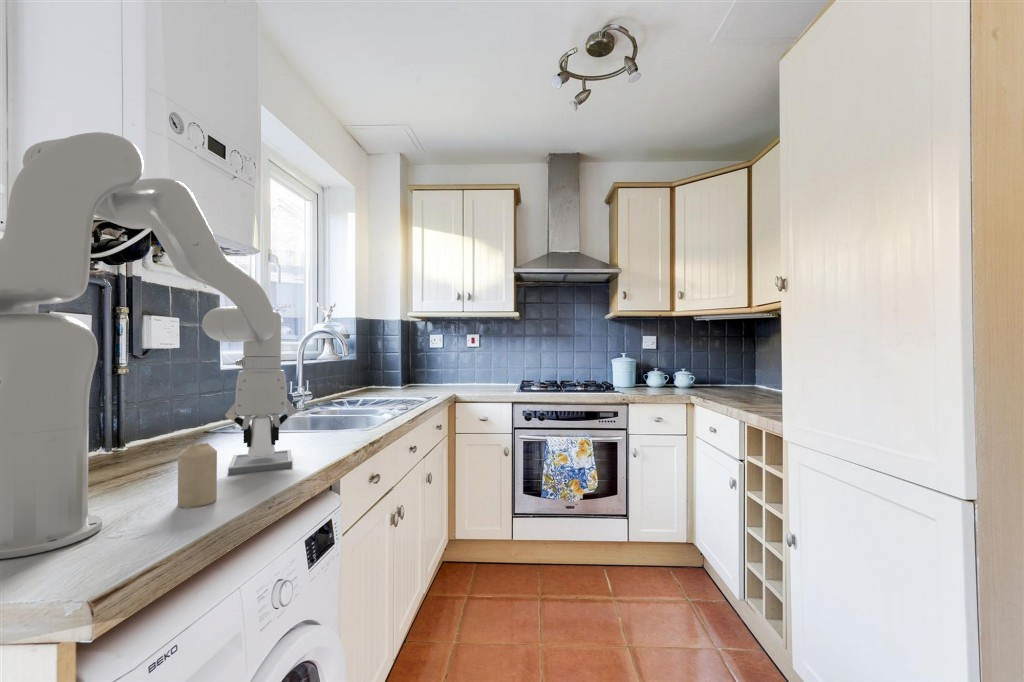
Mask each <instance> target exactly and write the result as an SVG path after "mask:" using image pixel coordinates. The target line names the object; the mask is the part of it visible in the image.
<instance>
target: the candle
mask: <svg viewBox="0 0 1024 682" xmlns="http://www.w3.org/2000/svg"><path fill="white" fill-rule="evenodd" d="M217 462H218V451H217V449H216V448H214V447H213V446H212V445H210V443H208V442H207V443H206V442H205V443H198V444H189V445H188V446H187V447H186V448H184V449H183V450H182V451H181V452H179V454H178V456H177V506H178V507H179V508H182V507H190V509H191V507H192V508H197V507H203V506H206V505H210V504H212V503H215V502H216V500H217V496H218V495H217V494H218V489H217V485H218V484H217V483H218V480H217V478H218V477H217V476H218V474H217V473H218V463H217Z"/></svg>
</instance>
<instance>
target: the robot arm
mask: <svg viewBox="0 0 1024 682" xmlns="http://www.w3.org/2000/svg"><path fill="white" fill-rule="evenodd" d="M143 159H144V158H143V155H142V154H141V151H140V149H139V148H138V147H137V146H136V145H135V144H134V143H133V142H131V141H130V140H129V139H127V138H125V137H123V136H122V135H121V136H120V135H118V134H114V133H110V132H109V133H108V132H85V133H84V132H83V133H80V134H75V135H74V134H73V135H72V136H68V137H64V138H58V139H57V138H56V139H49V140H44V141H41V142H36V143H34V144H32V145H31V146H29V148H27V149H26V150H25V153H24V154H23V158H22V168H21V169H20V171H19V172H18V174H17V176H16V178H15V180H14V182H13V184H12V188H11V190H10V195H9V202H8V207H7V213H6V220H5V226H4V227H5V228H4V232H3V235H2V238H0V560H2V559H11V558H12V559H13V558H18V557H26V556H31V555H35V554H40V553H44V552H47V551H48V552H49V551H53V550H55V549H59V548H63V547H65V546H69V545H71V544H72V545H73V544H75V543H76V542H80V541H82V540H85V539H87V538H89V537H90V536H92V535H95V534H96V533H98V531H100V530H101V528H102V527H103V519H102V518H101V516H98V515H95V514H89V433H90V431H89V429H90V428H89V427H90V426H89V424H90V423H89V420H90V419H89V417H90V415H89V412H90V409H89V408H90V406H89V405H90V396H91V395H90V393H91V388H92V387H91V385H92V381H93V376H94V372H95V370H96V365H97V361H98V355H99V346H98V345H99V344H98V341H97V338H96V336H95V334H94V332H93V331H92V329H90V328H89V326H87V325H86V324H85V323H83V322H82V321H80V320H78V319H76V318H75V317H74V318H73V317H72V316H70V315H69V316H68V315H65V314H64V315H63V314H59V313H50V312H39V307H40V306H39V305H52V304H53V305H54V304H60V303H61V304H62V303H68V302H71V301H74V300H76V299H78V298H80V297H81V296H82V295H83V294H84V293H85V292H86V290H87V288H88V286H89V285H88V284H89V280H90V273H91V272H90V270H91V252H92V251H91V250H92V237H93V235H92V234H93V233H92V232H93V225H94V219H95V218H94V217H98V218H100V219H103V220H105V221H107V222H110V223H113V224H116V226H117V225H118V226H121V227H123V228H128V229H133V230H141V229H142V230H143V229H145V230H146V229H151V230H152V232H153V234H154V235H155V237H156V238H157V241H158V242H159V243H160V245H161V247H162V248H163V250H164V252H165V254H166V255H167V256H168V258H169V260H170V262H171V264H172V265H173V268H174V269H175V270H176V271H177V272H178V273H179V274H181V275H183V276H185V277H187V278H189V279H191V280H194V281H196V282H197V283H201V284H203V285H206V286H208V287H210V288H213V289H215V290H216V291H219V292H220V293H222V295H224V296H225V297H226V298H228V299H229V300H230V301H231V302H232V303H233V304H234V305H235V306H220V307H216V308H212V309H211V310H209V311H208V312H207V313H205V314H204V316H203V319H202V323H201V325H202V330H203V331H204V333H205V335H206V336H208V337H209V338H210V339H212V340H215V341H217V342H223V343H238V342H239V343H240V342H241V343H243V346H242V347H243V348H242V351H243V352H242V353H243V354H242V355H243V356H242V358H240V359H235V366H236V367H237V366H239V367H241V368H242V370H239V371H238V374H237V380H236V385H235V386H236V387H235V401H234V402H233V404H232V405H231V407H230V408H229V409H228V410H227V412H226V413H225V415H224V417H225V418H227V419H228V420H231V421H233V422H234V423H236V424H237V425H238V426H239V427H240V428H242V429H243V444H246V447H247V448H249V447H250V446H251V424H250V423H251V420H252V417H255V416H258V415H268V416H271V418H272V445H274V446H276V442H277V441H279V439H280V437H279V436H280V427H281V425H282V424H283V423H284V422H285V421H287V419H289V418H290V417H291V416H293V415H295V414H296V413H297V409H296V408H295V407H294V406H293V405H292V403H291V401H290V400H289V399H288V391H287V390H288V388H287V387H288V386H287V378H286V373H285V370H284V369H281V368H282V364H281V363H282V360H281V359H282V357H281V356H282V355H281V354H282V316H281V314H280V312H278V311H276V310H274V309H273V306H272V304H271V302H270V300H269V297H268V296H267V294H266V292H265V290H264V289H263V288H262V286H261V285H260V284H259V283H258V281H257V280H256V279H254V278H253V277H252V276H251V275H250V274H249V273H248V272H246V270H244V269H243V268H241V266H239V265H238V264H237V263H235V262H234V261H233V260H231V259H230V258H228V257H227V256H226V254H224V252H223V250H222V248H221V246H220V244H219V242H218V240H217V239H216V237H215V235H214V233H213V231H212V229H211V228H210V226H209V224H208V222H207V219H206V217H205V215H204V214H203V212H202V209H201V208H200V206H199V205H198V202H197V200H196V199H195V196H194V194H193V192H192V191H191V190H190V189H189V188H188V187H187V186H186V185H185V184H184V183H183V182H181V181H178V180H175V179H172V178H164V177H160V178H159V177H157V178H156V177H155V178H143V179H142V178H141V177H142V175H143V171H144V160H143ZM140 178H141V179H140ZM281 414H282V415H281ZM242 417H244V419H243V418H242Z"/></svg>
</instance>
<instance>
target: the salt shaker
mask: <svg viewBox="0 0 1024 682" xmlns="http://www.w3.org/2000/svg"><path fill="white" fill-rule="evenodd" d="M272 426H273V419H272V416H271V415H258V416H253V417H252V418H251V425H250V427H251V446H250V447H248V449H247V450H248V452H247V454H248V456H250V457H265V456H269V455H272V454H274V453H275V450H276V449H275V445H272Z"/></svg>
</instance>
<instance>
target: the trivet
mask: <svg viewBox="0 0 1024 682" xmlns="http://www.w3.org/2000/svg"><path fill="white" fill-rule="evenodd" d="M227 468H228V469H227V474H228V475H229V476H230V475H238V474H239V475H240V474H247V473H255V472H256V473H257V472H265V471H273V470H284V469H292V468H293V457H292V450H291V449H286V450H285V449H284V450H276V451H275V453H274V454H272V455H269V456H265V457H250V456H248V453H243V454H241V453H240V454H234V455H233V456H232V457H231V460H230V463H229V465H228V467H227Z"/></svg>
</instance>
